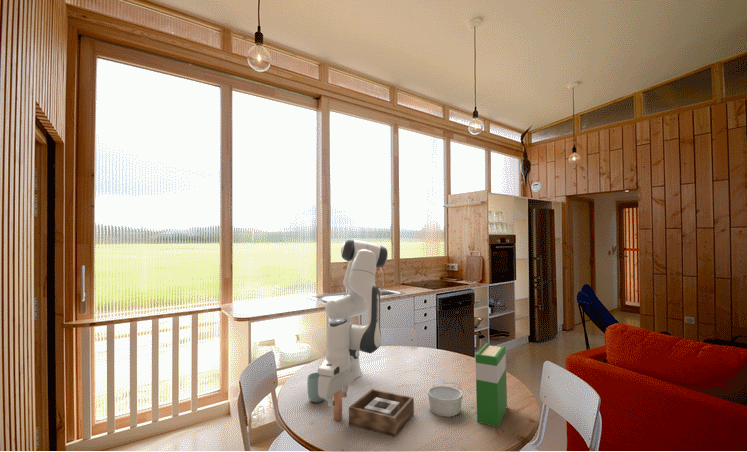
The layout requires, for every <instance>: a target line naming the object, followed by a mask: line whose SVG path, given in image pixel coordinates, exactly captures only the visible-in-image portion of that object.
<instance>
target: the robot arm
mask: <svg viewBox="0 0 747 452" xmlns="http://www.w3.org/2000/svg"><path fill="white" fill-rule="evenodd" d="M340 253H341V257H342V259H343V260H344V261H346V262H348V263H347V267H346V270H345V273H344V277H343V281H342V282H343V283H342V284H343V286H344V288H345V289H346V290H347V291H346V295H343V296H342V295H341V296H337V297H332V298H331V299H329V300H328V301H327V302H326V303H325V306H324V308H325V309H324V311H325V315H326V316H327V318H329V319H330V320H329V321H328V324H327V328H326V337H325V338H326V342H325V345H326V348H327V349H326V350H327V351H326V354H325V355H326V356H325V359H323V362H322V364H320V366H319V367H318V368H317V373H318V374H320V376H319V378H318V395H319V397H320V398H324V400H327V402H328V403H327V406H328V408H333V406H334V405H335V404H334V403H335V401H333V396H334V394H335V393H337V392H338V391H340V390H341V389H342V399H345V398H346V397H348V390H349V385H350V384H351V383H352V382H354V381H355V379H356V378H359V377H361V376H362V374H363V372H362V369H361V364H360V352H363V353H366V354H373V353H375V352H376V351H377V350H378V349H379V348H380V347H381V345H382V343H381V342H382V333H381V293H380V290H379V287H377V286H376V285H377V284H376V282H375V281H376V280H375V279H376V272H377V268H383V267H384V266H385V264H386V263H387V261H388V258H389V255H388V254H389V253H388V250H387V247H385V246H383V245H378V244H376V243H373V242H370V241H363V240H357V239H354V238H347V239H346V240H345V241H344V242H343V244H342V245H341V249H340ZM365 313H367V323H366V324H365V325H364V324H356V323H353V322H352V318H353V317H358V316H361V315H364V314H365Z"/></svg>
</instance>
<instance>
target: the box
mask: <svg viewBox="0 0 747 452" xmlns="http://www.w3.org/2000/svg"><path fill="white" fill-rule="evenodd" d="M414 399H415V398H414V397H413V396H409V395H403V394H398V393H393V392H387V391H384V390H379V389H375V388H371V389H369V391H367V392H366V393H365V394H363V395H362V396H361V397H360V398H359V399H357V400H355V402H354V403H352V404H351V405H350V406H349V407H348V425H349V426H353V427H356V428H360V429H363V430H367V431H372V432H375V433H379V434H383V435H386V436H390V437H394V438H395V437H397V436H398V434H399V433H400V432H401V431H402V429H403V428H404V427H405V425H406V424H407V423H408V422H409V421H410V419H411V418H412V417H413V416H414V413H415V412H414V409H415V407H414V404H415V403H414V401H415V400H414Z"/></svg>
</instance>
